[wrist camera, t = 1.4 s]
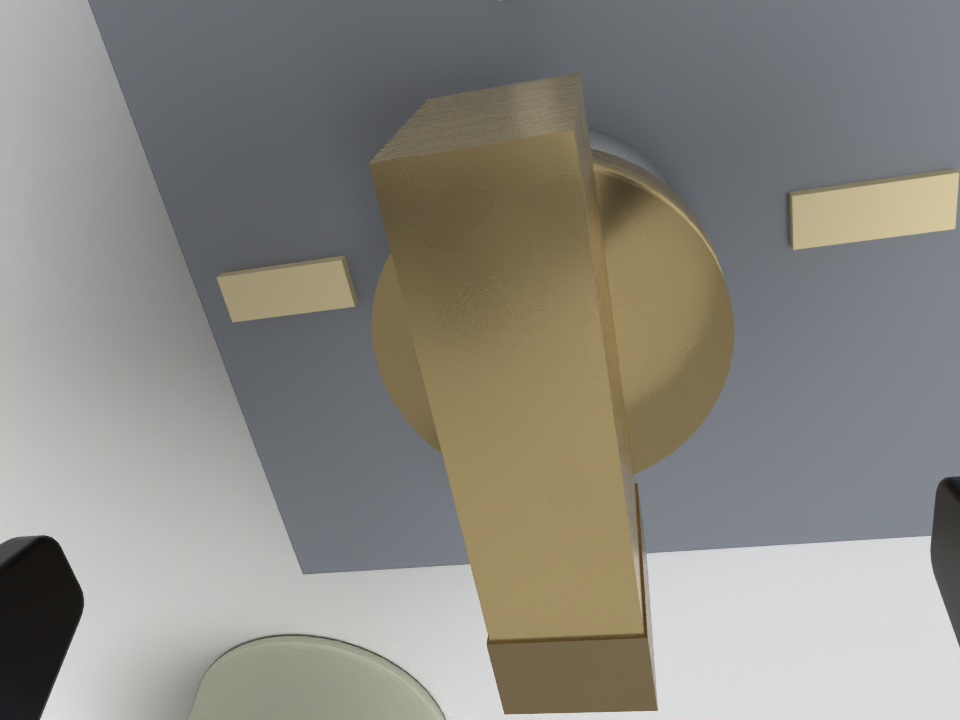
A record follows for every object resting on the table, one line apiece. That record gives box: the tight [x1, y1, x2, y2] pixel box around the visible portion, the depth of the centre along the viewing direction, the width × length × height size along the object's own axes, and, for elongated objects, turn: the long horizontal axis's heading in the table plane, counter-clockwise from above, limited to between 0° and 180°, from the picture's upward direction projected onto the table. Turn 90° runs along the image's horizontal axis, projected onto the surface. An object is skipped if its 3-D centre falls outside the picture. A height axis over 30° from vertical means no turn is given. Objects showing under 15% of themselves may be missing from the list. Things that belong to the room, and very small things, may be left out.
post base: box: [88, 0, 960, 574], centre depth 18 cm, size 18×18×4 cm
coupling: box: [368, 72, 734, 714], centre depth 14 cm, size 6×9×5 cm
